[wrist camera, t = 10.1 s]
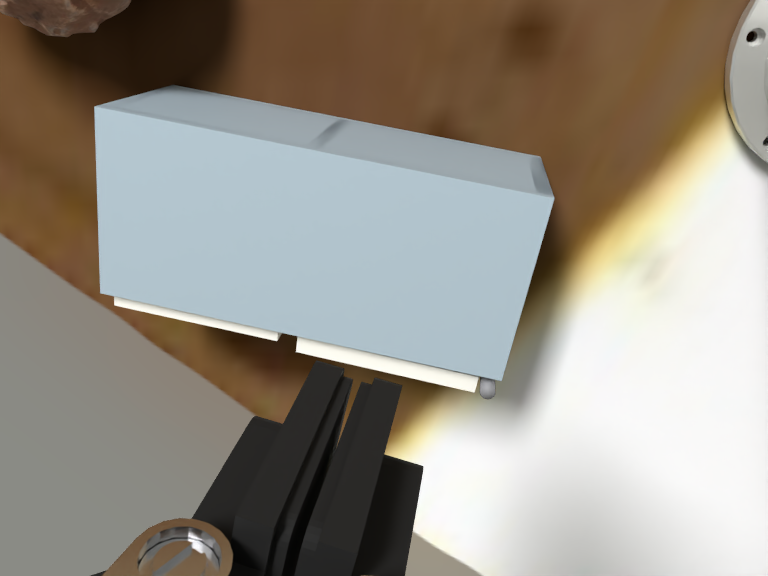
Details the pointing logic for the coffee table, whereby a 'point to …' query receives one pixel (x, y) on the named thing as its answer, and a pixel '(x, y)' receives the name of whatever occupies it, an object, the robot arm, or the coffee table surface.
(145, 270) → the cabinet
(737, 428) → the coffee table surface
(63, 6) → the decorative rock
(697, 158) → the coffee table surface
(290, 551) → the robot arm
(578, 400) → the coffee table surface
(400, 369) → the left door
